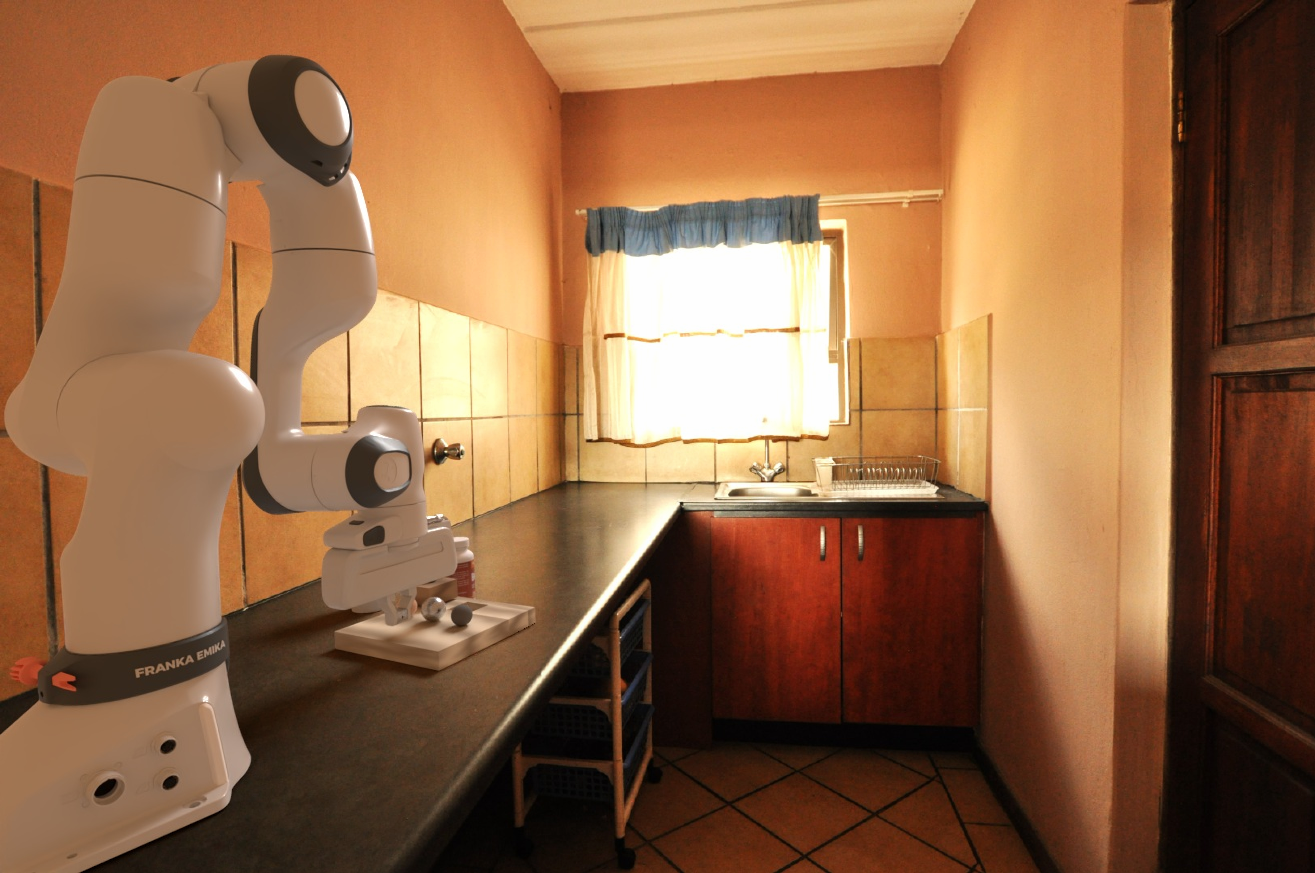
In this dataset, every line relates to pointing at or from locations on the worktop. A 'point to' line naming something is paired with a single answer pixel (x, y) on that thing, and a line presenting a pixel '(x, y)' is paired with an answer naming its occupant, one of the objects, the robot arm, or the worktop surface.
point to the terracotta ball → (413, 608)
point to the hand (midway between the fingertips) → (398, 622)
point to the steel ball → (433, 609)
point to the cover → (437, 590)
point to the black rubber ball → (461, 615)
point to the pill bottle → (464, 569)
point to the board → (436, 634)
